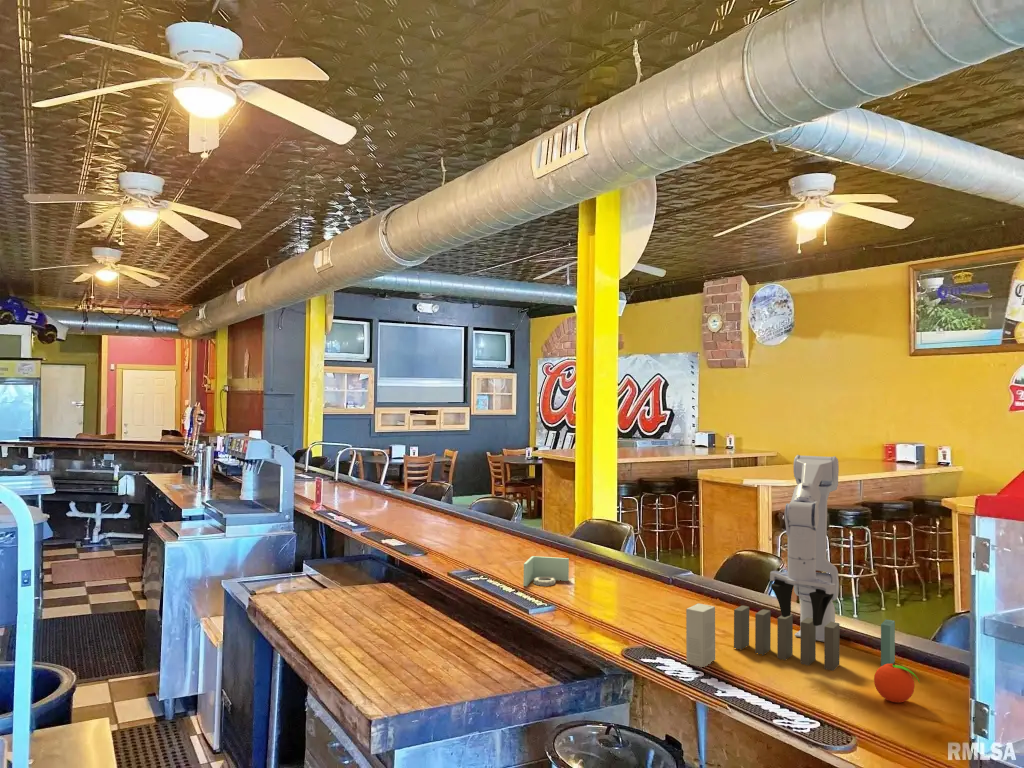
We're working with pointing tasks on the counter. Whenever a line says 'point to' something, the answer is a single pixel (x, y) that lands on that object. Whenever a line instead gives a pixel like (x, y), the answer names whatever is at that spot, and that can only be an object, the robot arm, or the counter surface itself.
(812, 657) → the domino
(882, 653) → the domino
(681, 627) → the counter surface
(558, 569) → the l-shaped corner panel
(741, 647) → the domino
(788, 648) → the domino
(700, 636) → the skincare box
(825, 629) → the domino
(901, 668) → the clementine
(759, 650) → the domino
